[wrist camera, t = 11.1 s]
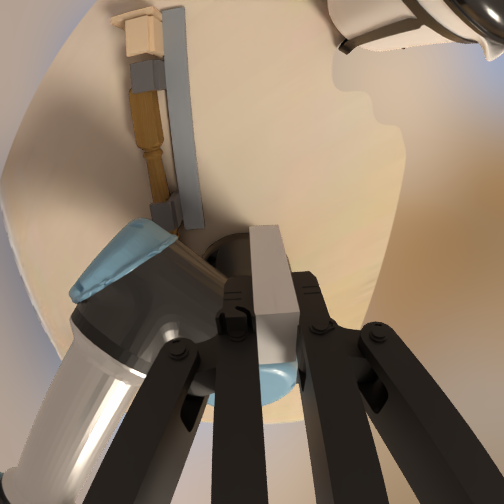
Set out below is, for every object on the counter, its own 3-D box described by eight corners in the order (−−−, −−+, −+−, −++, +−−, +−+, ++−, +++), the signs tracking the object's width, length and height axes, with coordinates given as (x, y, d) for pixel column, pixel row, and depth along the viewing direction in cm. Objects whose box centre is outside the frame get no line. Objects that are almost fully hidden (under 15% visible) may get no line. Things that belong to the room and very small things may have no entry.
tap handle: (164, 263, 44) (125, 64, 28) (168, 253, 46) (133, 65, 31) (183, 261, 44) (147, 58, 28) (186, 251, 46) (153, 60, 31)
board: (204, 226, 44) (200, 245, 39) (151, 230, 44) (141, 249, 39) (184, 7, 27) (175, -5, 22) (124, 21, 27) (108, 13, 22)
